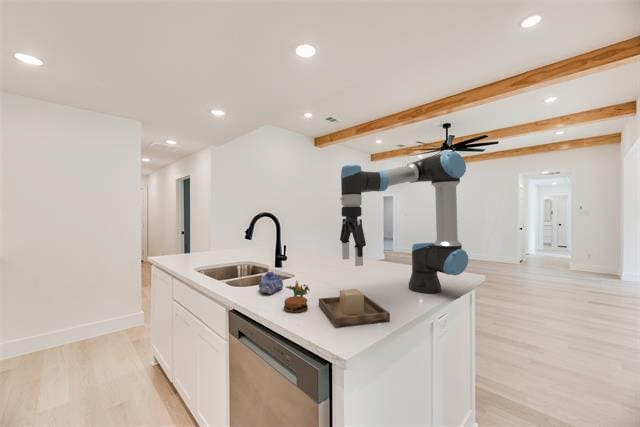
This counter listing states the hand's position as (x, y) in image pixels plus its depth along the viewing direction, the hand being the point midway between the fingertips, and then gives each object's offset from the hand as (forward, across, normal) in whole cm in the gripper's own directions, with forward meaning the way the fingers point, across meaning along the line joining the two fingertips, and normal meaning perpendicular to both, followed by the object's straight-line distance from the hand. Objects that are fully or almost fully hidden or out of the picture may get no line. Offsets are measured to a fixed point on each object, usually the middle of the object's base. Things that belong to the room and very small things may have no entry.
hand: (352, 262), depth 103 cm
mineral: (+19, -37, -28) cm, 50 cm away
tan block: (+18, 0, 0) cm, 18 cm away
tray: (+19, 0, 0) cm, 19 cm away
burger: (+19, -10, -20) cm, 30 cm away
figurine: (+19, -22, -17) cm, 34 cm away
